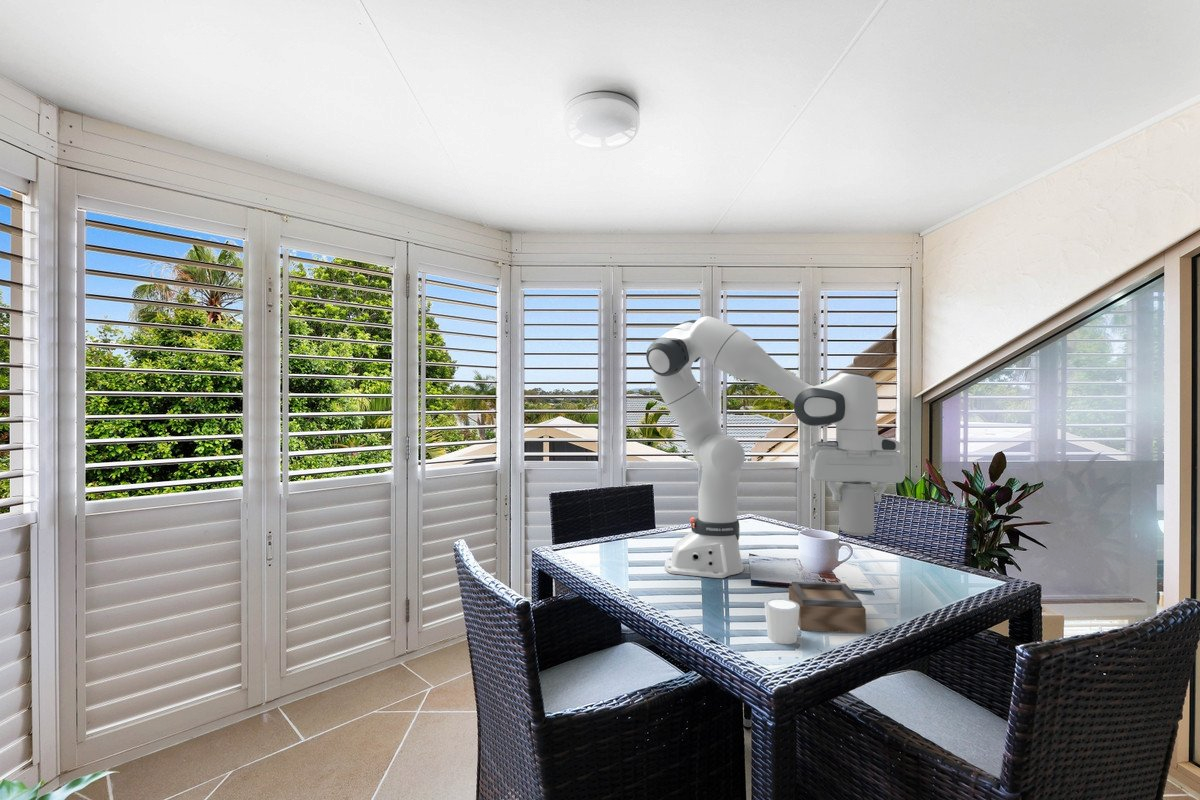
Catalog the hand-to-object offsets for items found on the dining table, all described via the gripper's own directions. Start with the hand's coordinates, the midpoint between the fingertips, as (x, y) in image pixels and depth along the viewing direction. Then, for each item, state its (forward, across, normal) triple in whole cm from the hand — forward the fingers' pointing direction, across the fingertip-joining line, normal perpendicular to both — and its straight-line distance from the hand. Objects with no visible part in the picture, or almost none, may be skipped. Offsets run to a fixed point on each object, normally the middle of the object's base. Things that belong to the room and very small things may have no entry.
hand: (856, 501), depth 129 cm
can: (+8, 0, 0) cm, 8 cm away
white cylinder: (+25, -20, -19) cm, 37 cm away
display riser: (+25, -9, -8) cm, 28 cm away
